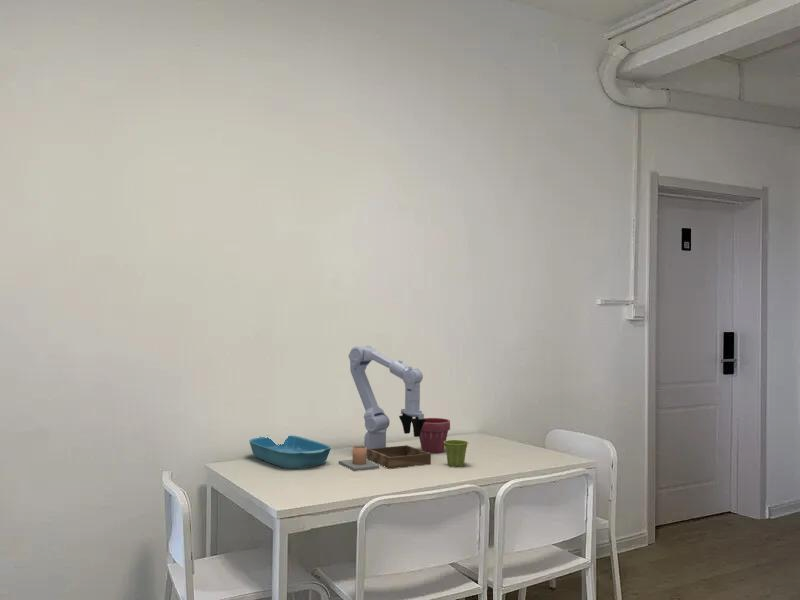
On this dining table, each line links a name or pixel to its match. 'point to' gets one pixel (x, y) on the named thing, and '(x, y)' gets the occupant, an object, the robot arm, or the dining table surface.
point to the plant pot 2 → (455, 452)
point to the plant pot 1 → (434, 434)
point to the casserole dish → (290, 452)
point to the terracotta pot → (359, 455)
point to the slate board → (358, 467)
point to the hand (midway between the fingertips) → (411, 435)
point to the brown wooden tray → (398, 456)
